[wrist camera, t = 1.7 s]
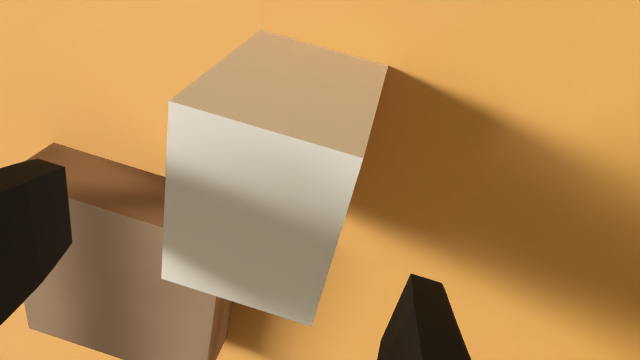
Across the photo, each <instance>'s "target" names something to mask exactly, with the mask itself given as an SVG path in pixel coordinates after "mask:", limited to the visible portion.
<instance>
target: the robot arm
mask: <svg viewBox="0 0 640 360" xmlns="http://www.w3.org/2000/svg"><path fill="white" fill-rule="evenodd" d="M72 243H73V241H72V231H71V221H70V211H69V201H68V190H67V180H66V170H65V167H64V166H61V165H57V164H54V163H51V162H48V161H44V160H41V159H38V158H37V159H33V160H29V161H25V162H21V163H17V164H13V165H10V166H7V167H3V168H0V325H1V324H2V323H3V322H4V321H5V320H6V319H7V318H8V317H9V316H10V315H11V314H12V313H13V312H14V311H15V310H16V309H17V308H18V307H19V306H20V305H21V304H22V303H23V302H24V301H25V300H26V299H27V298H28V297H29V296H30V295H31V294H32V293H33V292H34V291H35V290H36V289H37V288H38V287H39V285H40V284H41V283H42V282H43V281H44V280H45V278H46V277H47V276H48V275H49V273H50V272H51V271H52V270H53V268H54V267H55V266H56V265H57V263H58V262H59V260H60V259H61V258H62V256H63V255H64V254H65V252H66V251H67V250H68V248H69V247H70V245H71V244H72ZM377 360H471V358H470V355H469V353H468V351H467V348H466V345H465V343H464V340H463V338H462V335H461V333H460V330H459V327H458V325H457V322H456V319H455V316H454V314H453V311H452V308H451V305H450V302H449V300H448V297H447V294H446V291H445V289H444V287H443V285H442V283H440V282H436V281H433V280H430V279H427V278H423V277H420V276H417V275H414V274H410V277H409V279H408V281H407V283H406V286H405V288H404V290H403V292H402V294H401V297H400V299H399V301H398V303H397V306H396V308H395V310H394V312H393V315H392V317H391V319H390V321H389V323H388V326H387V328H386V330H385V332H384V335H383V337H382V339H381V342H380V348H379V353H378V359H377Z"/></svg>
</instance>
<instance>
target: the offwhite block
mask: <svg viewBox="0 0 640 360" xmlns="http://www.w3.org/2000/svg"><path fill="white" fill-rule="evenodd" d="M387 69H388V65H385V64H381V63H378V62H374V61H371V60H367V59H364V58H360V57H357V56H353V55H349V54H346V53H342V52H339V51H335V50H332V49H328V48H325V47H321V46H318V45H314V44H311V43H307V42H303V41H300V40H296V39H293V38H289V37H286V36H282V35H279V34H275V33H272V32H268V31H265V30H260V31H259V32H258V33H256V34H255V35H254V36H252V37H251V38H250V39H248V40H247V41H246V42H245V43H243V44H242V45H241V46H239V47H238V48H237V49H236V50H234V51H233V52H232V53H230V54H229V55H228V56H226V57H225V58H224V59H223V60H221V61H220V62H219V63H217V64H216V65H215V66H214V67H212V68H211V69H210V70H208V71H207V72H206V73H204V74H203V75H202V76H201V77H199V78H198V79H197V80H195V81H194V82H193V83H191V84H190V85H189V86H188V87H186V88H185V89H184V90H182V91H181V92H180V93H179V94H177V95H176V96H175V97H173V98H172V99H171V100H169V110H168V133H167V156H166V180H165V203H164V226H163V249H162V273H161V279H164V280H167V281H170V282H173V283H176V284H180V285H183V286H186V287H189V288H192V289H195V290H198V291H201V292H205V293H208V294H211V295H214V296H217V297H220V298H223V299H227V300H230V301H233V302H236V303H239V304H242V305H245V306H249V307H252V308H255V309H258V310H261V311H264V312H267V313H271V314H274V315H277V316H280V317H283V318H286V319H289V320H293V321H296V322H299V323H302V324H305V325H308V326H312V322H313V319H314V316H315V313H316V310H317V306H318V303H319V300H320V297H321V293H322V290H323V287H324V284H325V281H326V277H327V274H328V271H329V268H330V264H331V261H332V258H333V255H334V252H335V248H336V245H337V242H338V239H339V235H340V232H341V229H342V226H343V223H344V219H345V216H346V213H347V210H348V206H349V203H350V200H351V197H352V194H353V190H354V187H355V184H356V181H357V177H358V174H359V171H360V168H361V165H362V161H363V158H364V154H365V151H366V147H367V143H368V139H369V136H370V132H371V128H372V125H373V121H374V117H375V113H376V110H377V106H378V102H379V98H380V95H381V91H382V87H383V83H384V80H385V76H386V72H387Z"/></svg>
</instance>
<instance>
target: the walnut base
mask: <svg viewBox="0 0 640 360" xmlns="http://www.w3.org/2000/svg"><path fill="white" fill-rule="evenodd" d="M37 158H38V159H41V160H44V161H48V162H51V163H54V164H57V165H61V166H64V167H65V170H66V180H67V190H68V201H69V211H70V221H71V231H72V241H73V243H72V244H71V245H70V247H69V248H68V250H67V251H66V252H65V254H64V255H63V256H62V258H61V259H60V260H59V262H58V263H57V265H56V266H55V267H54V268H53V270H52V271H51V272H50V273H49V275H48V276H47V277H46V278H45V280H44V281H43V282H42V283H41V284H40V285H39V287H38V288H37V289H36V290H35V291H34V292H33V293H32V294H31V295H30V296H29V297H28V298H27V299H26V300H25V301H24V303H25V309H26V314H27V319H28V325H29V328H30V329H33V330H36V331H39V332H42V333H45V334H48V335H51V336H54V337H57V338H60V339H63V340H66V341H69V342H72V343H75V344H78V345H81V346H85V347H88V348H91V349H94V350H97V351H100V352H103V353H106V354H109V355H112V356H115V357H118V358H121V359H124V360H216V359H217V356H218V354H219V352H220V350H221V348H222V346H223V344H224V341H225V339H226V336H227V331H228V325H229V319H230V313H231V307H232V301H230V300H227V299H223V298H220V297H217V296H214V295H211V294H208V293H205V292H201V291H198V290H195V289H192V288H189V287H186V286H183V285H180V284H176V283H173V282H170V281H167V280H164V279H161V273H162V249H163V226H164V203H165V180H166V177H163V176H159V175H156V174H153V173H150V172H147V171H143V170H140V169H137V168H134V167H130V166H127V165H124V164H121V163H117V162H114V161H111V160H108V159H105V158H101V157H98V156H95V155H92V154H88V153H85V152H82V151H79V150H76V149H72V148H69V147H66V146H63V145H59V144H56V143H52V144H51V145H49V146H48V147H46V148H45V149H43V150H42V151H40V152H39V153H37V154H36V155H34V156H32V157H31V158H29V159H28V160H26V161H29V160H33V159H37Z"/></svg>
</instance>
